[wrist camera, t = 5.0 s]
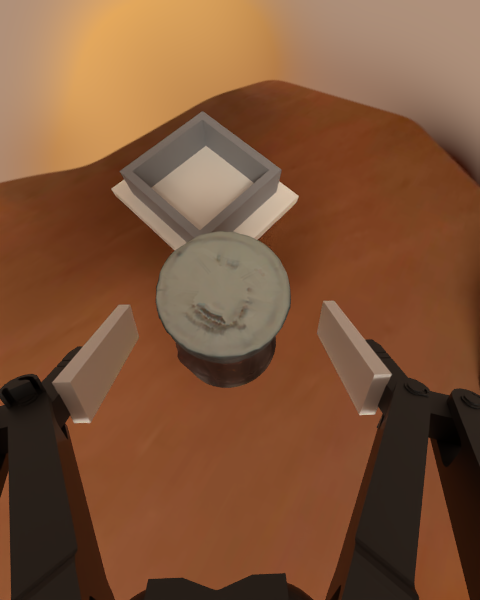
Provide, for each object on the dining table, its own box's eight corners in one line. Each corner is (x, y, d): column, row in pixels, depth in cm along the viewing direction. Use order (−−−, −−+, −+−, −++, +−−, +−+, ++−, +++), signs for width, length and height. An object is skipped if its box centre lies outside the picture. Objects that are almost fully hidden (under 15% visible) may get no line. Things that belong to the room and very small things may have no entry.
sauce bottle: (219, 393, 24) (159, 484, 5) (189, 342, 26) (56, 272, 7) (270, 357, 26) (371, 327, 6) (238, 311, 27) (244, 173, 8)
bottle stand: (115, 195, 31) (95, 166, 27) (202, 130, 34) (197, 95, 30) (210, 283, 28) (205, 267, 23) (296, 202, 31) (306, 174, 27)
